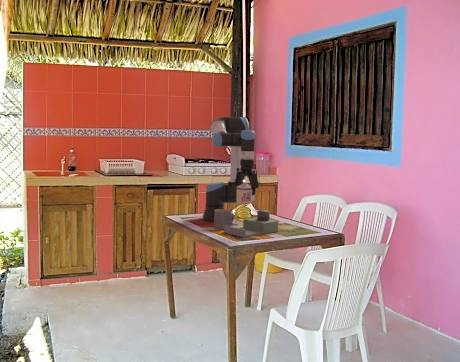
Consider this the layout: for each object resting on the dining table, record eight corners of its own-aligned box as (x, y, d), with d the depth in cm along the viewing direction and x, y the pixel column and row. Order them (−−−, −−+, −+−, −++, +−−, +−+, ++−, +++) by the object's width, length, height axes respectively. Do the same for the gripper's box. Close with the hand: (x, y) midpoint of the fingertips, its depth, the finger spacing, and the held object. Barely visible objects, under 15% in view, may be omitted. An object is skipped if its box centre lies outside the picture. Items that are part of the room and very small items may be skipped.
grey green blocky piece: (223, 232, 307) (224, 212, 306) (257, 227, 325) (258, 208, 324) (244, 237, 295) (244, 217, 294) (277, 231, 314) (278, 212, 313)
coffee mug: (219, 229, 315) (219, 212, 314) (210, 226, 323) (211, 209, 322) (239, 227, 322) (239, 210, 321) (230, 225, 330) (231, 208, 329)
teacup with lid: (241, 205, 298) (242, 183, 296) (232, 202, 305) (233, 181, 304) (260, 203, 304) (260, 182, 303) (250, 201, 312) (251, 180, 310)
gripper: (228, 157, 307) (227, 197, 310) (256, 160, 292) (255, 202, 294) (238, 157, 312) (237, 196, 315) (266, 160, 297) (265, 201, 299)
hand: (245, 199), depth 305 cm, fingers closed on teacup with lid, 9 cm apart
